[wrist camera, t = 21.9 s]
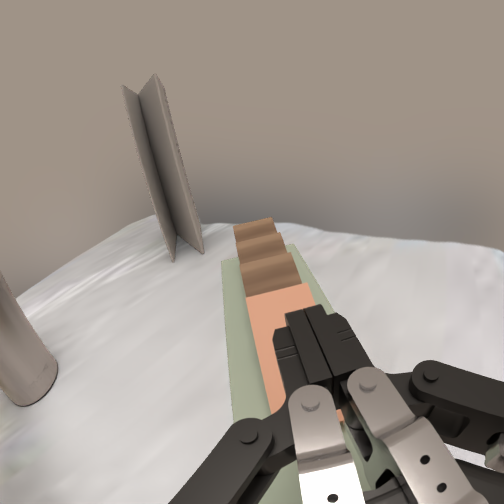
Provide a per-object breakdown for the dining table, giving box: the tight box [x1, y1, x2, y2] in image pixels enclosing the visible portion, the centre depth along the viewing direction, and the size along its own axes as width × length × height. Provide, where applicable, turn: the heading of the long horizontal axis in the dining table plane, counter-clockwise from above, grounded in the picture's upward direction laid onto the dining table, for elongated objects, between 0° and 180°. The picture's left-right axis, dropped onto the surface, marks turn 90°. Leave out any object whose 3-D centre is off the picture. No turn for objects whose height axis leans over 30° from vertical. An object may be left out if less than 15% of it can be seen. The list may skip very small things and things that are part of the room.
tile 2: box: [239, 252, 302, 298], centre depth 24 cm, size 2×5×11 cm
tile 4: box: [233, 217, 277, 243], centre depth 33 cm, size 2×5×11 cm
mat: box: [221, 244, 371, 504], centre depth 26 cm, size 36×11×1 cm, turn 7°
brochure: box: [121, 74, 204, 262], centre depth 46 cm, size 14×6×30 cm, turn 12°
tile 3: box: [236, 232, 287, 264], centre depth 28 cm, size 2×5×11 cm
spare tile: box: [245, 282, 344, 422], centre depth 19 cm, size 2×5×11 cm
